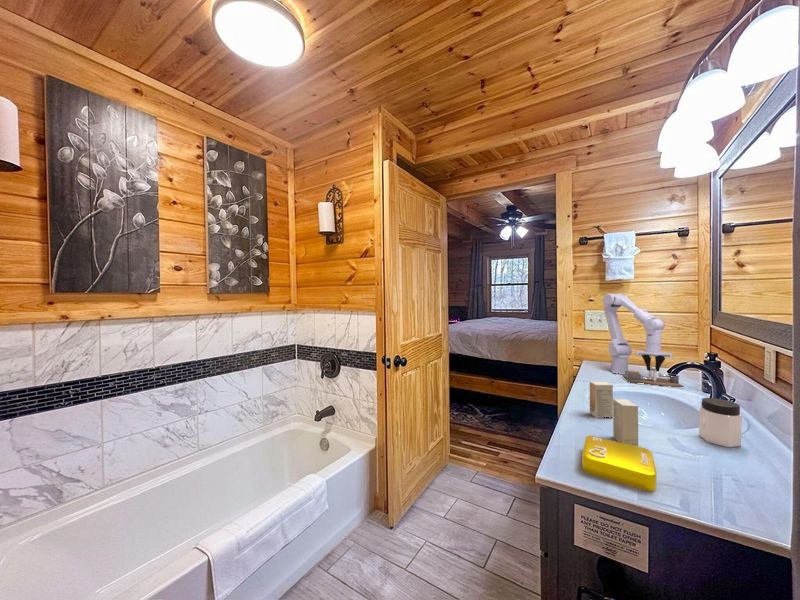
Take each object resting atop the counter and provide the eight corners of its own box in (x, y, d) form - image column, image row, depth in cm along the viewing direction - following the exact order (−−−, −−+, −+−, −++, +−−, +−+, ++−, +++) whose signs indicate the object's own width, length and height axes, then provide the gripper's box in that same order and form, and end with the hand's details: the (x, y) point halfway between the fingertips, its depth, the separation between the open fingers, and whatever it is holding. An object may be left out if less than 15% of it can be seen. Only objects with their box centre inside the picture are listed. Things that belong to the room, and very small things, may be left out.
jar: (694, 432, 101) (695, 395, 100) (726, 436, 98) (728, 398, 97) (710, 445, 92) (711, 405, 92) (746, 450, 89) (748, 409, 89)
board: (622, 376, 163) (622, 375, 163) (672, 381, 156) (672, 379, 156) (629, 383, 152) (629, 381, 152) (683, 388, 145) (683, 386, 145)
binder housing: (625, 376, 160) (625, 369, 160) (637, 377, 158) (637, 370, 158) (628, 379, 155) (628, 372, 155) (640, 380, 153) (641, 373, 153)
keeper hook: (656, 379, 155) (656, 371, 155) (674, 381, 152) (674, 372, 152) (660, 382, 151) (660, 373, 151) (678, 383, 148) (678, 375, 148)
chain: (627, 376, 160) (627, 365, 160) (651, 378, 156) (651, 366, 156) (631, 379, 154) (631, 367, 154) (656, 381, 151) (656, 369, 151)
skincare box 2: (638, 447, 91) (639, 406, 91) (621, 445, 92) (622, 405, 92) (627, 437, 97) (628, 399, 97) (611, 435, 98) (612, 398, 98)
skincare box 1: (606, 413, 116) (607, 381, 115) (613, 418, 111) (614, 384, 111) (588, 413, 116) (589, 380, 116) (594, 417, 112) (595, 384, 111)
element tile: (657, 495, 71) (657, 474, 70) (581, 473, 79) (581, 454, 79) (651, 464, 83) (651, 447, 83) (586, 448, 91) (586, 432, 91)
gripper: (638, 343, 152) (637, 371, 153) (675, 345, 147) (674, 374, 147) (633, 341, 159) (633, 367, 159) (669, 343, 153) (668, 370, 154)
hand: (652, 370), depth 154 cm, fingers open, 3 cm apart
